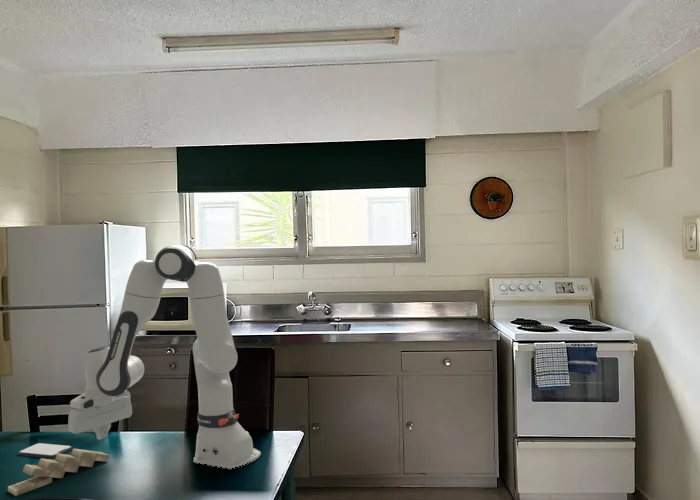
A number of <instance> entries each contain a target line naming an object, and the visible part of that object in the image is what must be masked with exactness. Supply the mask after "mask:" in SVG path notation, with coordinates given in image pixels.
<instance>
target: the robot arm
mask: <svg viewBox="0 0 700 500" xmlns="http://www.w3.org/2000/svg"><path fill="white" fill-rule="evenodd" d="M167 280H170V281H176V282H182V283H186V285H187V288H188V294H189V295H188V296H189V302H190V311H191V318H192V324H193V326H194V329H195V330H194V331H195V334H196V339H195V340H194V343H193V344H192V355H193V363H194V370H195V371H194V372H195V377H196V378H195V379H196V384H197V385H196V386H197V392H198V393H197V396H198V397H197V398H198V412H197V416H196V417H197V424H198V431H197V433H196V439H195V440H196V442H195V453H194V454H195V455H194V457H193V463H195V464H199V463H200V464H201V465H204V464H207V465H206V466H210V465H211V466H210V467H215V466H217V467H216V468H220V467H222V468H221V469H225V468H227V470H232V468H234V469H236V468H235V467H238V468H240V467H239V466H241V467H243V466H242V465H244V466H246V465H248V464H250V463H252V462H254V461H256V460H257V459H258V458H260V456H261V455H262V453H261V451H260V450H258V449H257V448H254V443H253V439H252V436H251V435H250V432H248V431H246V430H245V429H244V428H243V427H242V425H241V424H240V423H239V422H238V418H239V415H240V414H239V413H237V414H236V411H235V409H234V402H233V400H234V398H233V396H234V394H233V383H232V381H231V377H230V372H231V371H232V370H233V369H234V368H235V367H236V366H237V363H238V359H239V358H238V352H237V349H236V348H235V347H236V346H235V341H234V337H233V334H232V330H231V326H230V324H229V320H228V315H227V313H228V312H227V307H226V301H225V299H226V298H225V291H224V285H223V281H222V277H221V273H220V270H219V268H218V266H217V265H216V264H214V263H213V262H208V261H202V262H200V261H198V260H197V255H196V253H195V251H194V250H193V248H191V247H190V246H188V245H185V244H171V245H168V246H165V247H164V248H162V249H160V250H159V252H158V253H157V254H156V256H155V259H154V260H150V259H143V260H139V261H137V262H135V263H134V265H133V266H132V269H131V271H130V274H129V276H128V279H127V282H126V286H125V290H124V296H123V299H122V303H121V309H120V312H119V315H118V317H117V318H118V319H117V321H116V322H117V323H116V325H115V328H114V331H113V334H112V338H111V342H110V344H109V345H104V346H99V347H96V348H93V349H91V350H89V351H88V352H87V353H86V355H85V359H84V360H85V361H84V378H85V381H86V385H85V391H84V392H83V393H82V394H80V395H78V396H76V397H75V398H73V399H71V400H70V402H69V405H70V407H71V409H70V411H69V412H68V417H67V418H68V419H67V420H68V421H67V423H68V424H67V427H68V431H69V432H70V433H72V434H75V435H77V434H80V433H84V432H86V431H90V430H93V431H94V433H95V434H96V439H97V440H98V441H100V440H103V439H105V438H108V437H109V432H110V429H111V427H112V423H116V422H119V421H121V420H124V419H127V418H130V417H132V414H133V407H132V406H133V405H132V401H131V393H130V391H128V389H130V388H131V387H132V386H134V385H135V384H136V383H138V382H139V381H141V379H142V378H143V377H144V374H145V370H146V369H145V368H146V367H145V363H144V362H143V360H142V359H141V357H138V356H136V355H131V353H132V349H133V345H134V343H135V339H136V337H137V335H138V334H139V332H140V331H141V329H142V328H143V327H144V326H145V325H146V324H147V323H149V322H150V321H151V320H152V319H153V318H154V317H155V316H156V313H157V311H158V308H159V306H160V301H161V298H162V297H161V296H162V292H163V288H164V285H165V283H166V281H167ZM101 427H103V430H102V431H100V430H101ZM249 462H250V463H249ZM247 463H248V464H247ZM245 464H246V465H245Z"/></svg>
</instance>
